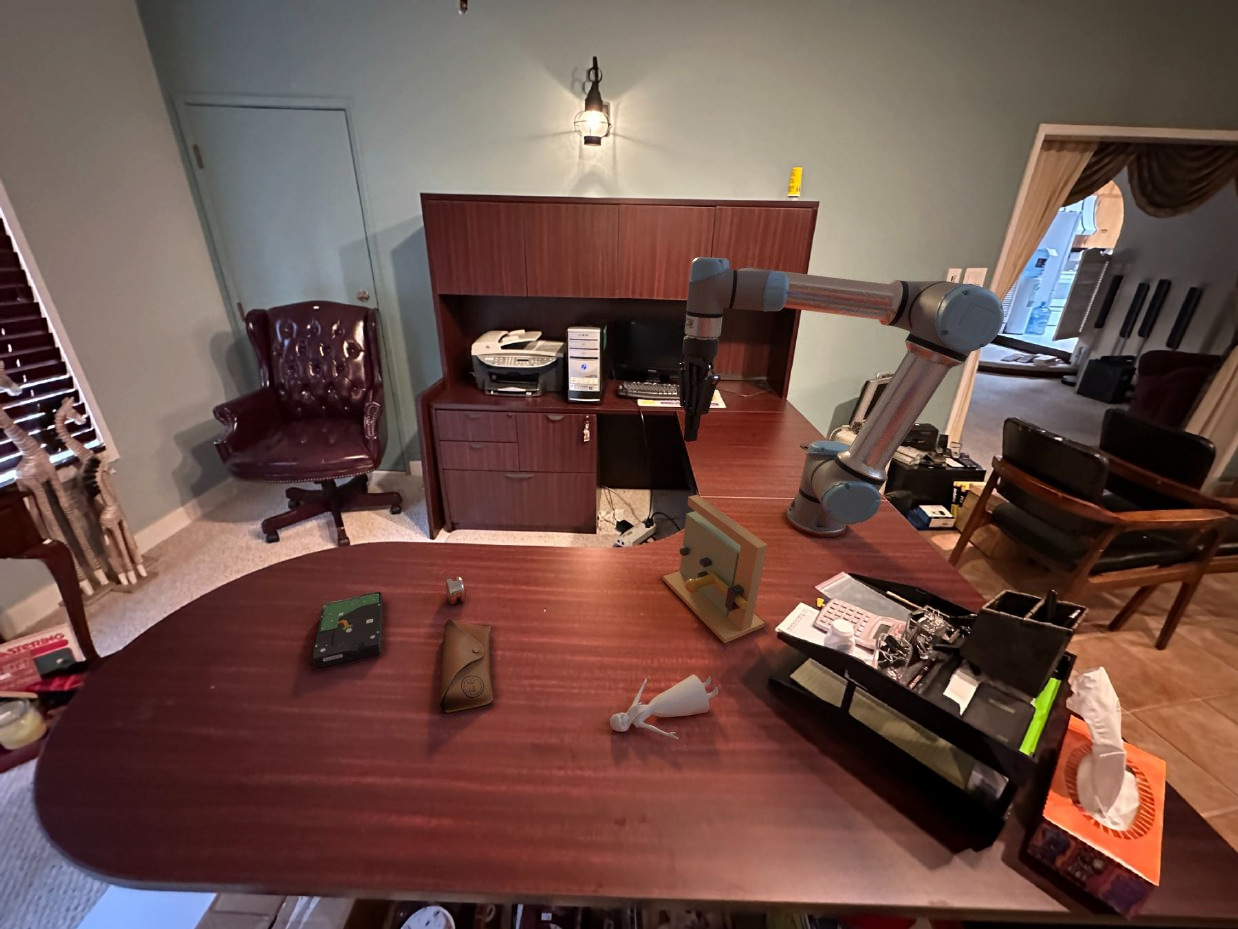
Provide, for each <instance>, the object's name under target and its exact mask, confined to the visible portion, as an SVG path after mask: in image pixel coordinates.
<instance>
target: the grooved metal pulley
mask: <svg viewBox="0 0 1238 929" xmlns="http://www.w3.org/2000/svg"><path fill="white" fill-rule="evenodd" d="M454 579H455V580H453V579H452V578H451V577H450V578H446V579H445V589H446V595H447V598H448V601H449V604H450V605H454V604H456V603H457V600H458V599H459V602H464V601H465V600H466V598H467V593H466V587H465V583H464V580H463V577H462V576H459V575H457V576H455V578H454Z"/></svg>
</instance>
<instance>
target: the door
mask: <svg viewBox="0 0 1238 929" xmlns="http://www.w3.org/2000/svg"><path fill="white" fill-rule="evenodd" d="M687 506H688V507H689V508H690V509H692V510H693V511H691V512H688V513H687V512H686V513H685V514H686V515H685V522H684V530H683V539H682V540H683V541H682V546H681V547H680V548H679V554H680V555H681V557H680V567H679V570H678V571H676V572H675V571H674V572H672V573H669V574H665V575H663V576H662V581H663V582H664V583H665V584H666V585H667V586H668V588H670V589H671V590H672V591H673V592H674V593H675V594H676V596H678V597H679V599H681V601H682V602H684V604H685V605H686V606H687V607H688V608H689V609H690V610H691V611H692V612H693V613H694V614H695V615H696V616H697V617H698V618H699V619H700V620H701V621H702V622H703V623H704V624H705V625H706V626H707V627H708V628H709V629H710V630H711V631H712V633H713V634H715V636H716V637H717V638H718V639H719V640H720V641H721V642H722V643H723V644H726V643H729V642H731V641H734V640H736V639H739V638H741V637H743V636H746V635H747V634H750V633H752V632H755V631H758V630H760V629H762V628H764V627H765V622H764V621H763V620H762V619H761V618H759V616H758V615H756V614H755V610H756V604H757V600H758V595H759V590H760V586H761V581H762V580H761V579H762V575H763V570H764V564H765V559H766V556H767V549H768V544H767V543H766V542H764V540H761V539H760V538H759V537H758V536H757V535H755V534H753V533H752V532H751V531H749V530H748V529H746V528H745V527H744V526H742V525H741V524H739V523H738V522H736V521H735V520H734V519H732V518H731V517H730V516H728V515H727V514H726V513H724V512H722V511H721V510H720V509H718V508H717V507H716V506H714V505H713V504H712V503H710V502H708V501H707V500H706V499H704V498H703V497H701V496H700V495H698V494H694V495H689V496H688V497H687ZM710 572H713V573H715V574H716V575H717V576H718V577H719V578H720V579H721V580H723V581H724V582H725V583H726V584H727V585H728V586H729V588H728V591H727V595H726V594H725V593H723V592H722V591H721V590H720V589H719V588H718V587H717V586H716V585H715V584H714V583H712V584H710V585H707V586H704V587H701V588H698V590H697V591H696V592H689V591H687V590H686V588H685V583H686V581H687V580H688V579H697V578H700V577H703V576H706V575H708V574H709V573H710ZM737 595H740V596H741V597H742V598H743V599H744V600H745V601H746V602H747V603H748V606H747V607H746V608H745V609H741V608H740V607H739V606H738V605H737V604H736V603H734V597H735V596H737Z"/></svg>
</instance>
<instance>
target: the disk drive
mask: <svg viewBox="0 0 1238 929" xmlns="http://www.w3.org/2000/svg"><path fill="white" fill-rule="evenodd" d="M383 611H384V597H383V594H382V591H376V592H371V593H365V594H361V595H355V596H351V598H344V599H339V600H335V601H326V602H325V604H323V605H322V609H321V610H320V618H319V623H318V627H317V633H316V638H315V645H314V648H313V654H312V661H313V664H314V668H315V669H318V668H323V667H328V666H329V667H330V666H333V665H338V664H341V663H346V662H350V661H354V660H358V659H362V658H367V657H371V656H375V655H377V654H381V653H382V647H383V617H384V616H383V613H384V612H383Z"/></svg>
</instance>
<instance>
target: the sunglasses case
mask: <svg viewBox="0 0 1238 929" xmlns="http://www.w3.org/2000/svg"><path fill="white" fill-rule="evenodd" d="M491 631H492V625H481V624H474V623H468V622H463V621H462V622H461V621H457V620H453V619H452V618H449V619H448V620H447V621H446V622H445V623H444V630H443V637H442V639H443V640H442V653H441V665H440V666H441V667H440V679H439V681H440V682H439V702H438V704H439V709H440V710H441V711H442V712H443V713H445V714H452V713H458V712H463V711H464V712H465V711H469V710H473V709H476V708H481V707H484V706H487V705H490V704H491V703H493V702H494V690H493V683H492V675H491V674H492V673H491V650H490V649H491V633H492V632H491Z"/></svg>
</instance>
